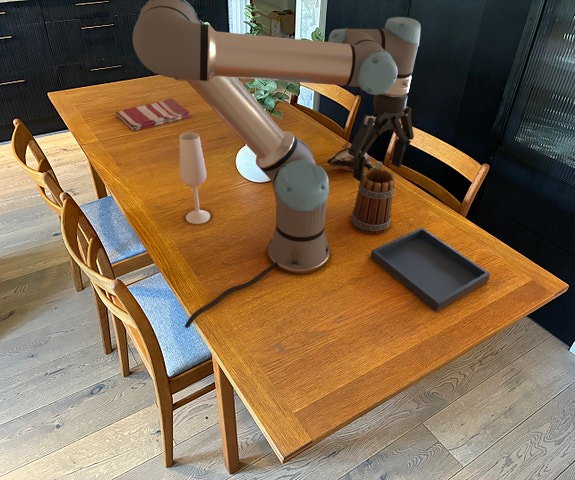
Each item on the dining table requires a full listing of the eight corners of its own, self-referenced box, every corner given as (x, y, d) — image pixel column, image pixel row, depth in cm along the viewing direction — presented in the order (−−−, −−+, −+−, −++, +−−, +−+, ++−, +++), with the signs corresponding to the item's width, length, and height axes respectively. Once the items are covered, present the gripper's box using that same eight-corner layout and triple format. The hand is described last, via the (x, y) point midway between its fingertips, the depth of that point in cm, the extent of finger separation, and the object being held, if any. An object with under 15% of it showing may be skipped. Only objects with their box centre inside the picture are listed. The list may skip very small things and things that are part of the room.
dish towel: (191, 116, 180) (191, 110, 178) (133, 131, 168) (132, 124, 167) (171, 102, 190) (170, 96, 188) (115, 115, 178) (114, 109, 177)
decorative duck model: (388, 160, 144) (350, 170, 137) (382, 180, 149) (345, 191, 142) (359, 136, 153) (322, 145, 146) (354, 156, 158) (318, 165, 151)
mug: (389, 237, 124) (399, 189, 114) (349, 231, 125) (356, 183, 116) (390, 205, 136) (399, 159, 126) (353, 200, 137) (360, 154, 128)
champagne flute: (186, 210, 131) (176, 130, 116) (210, 209, 131) (203, 130, 116) (184, 224, 125) (174, 142, 111) (209, 223, 126) (202, 142, 111)
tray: (436, 311, 103) (439, 303, 102) (370, 257, 117) (371, 250, 115) (487, 280, 111) (490, 273, 110) (420, 234, 125) (422, 227, 124)
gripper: (362, 107, 100) (349, 191, 113) (440, 87, 111) (421, 166, 124) (339, 95, 104) (330, 178, 118) (417, 77, 116) (400, 154, 129)
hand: (377, 172), depth 121 cm, fingers open, 13 cm apart
